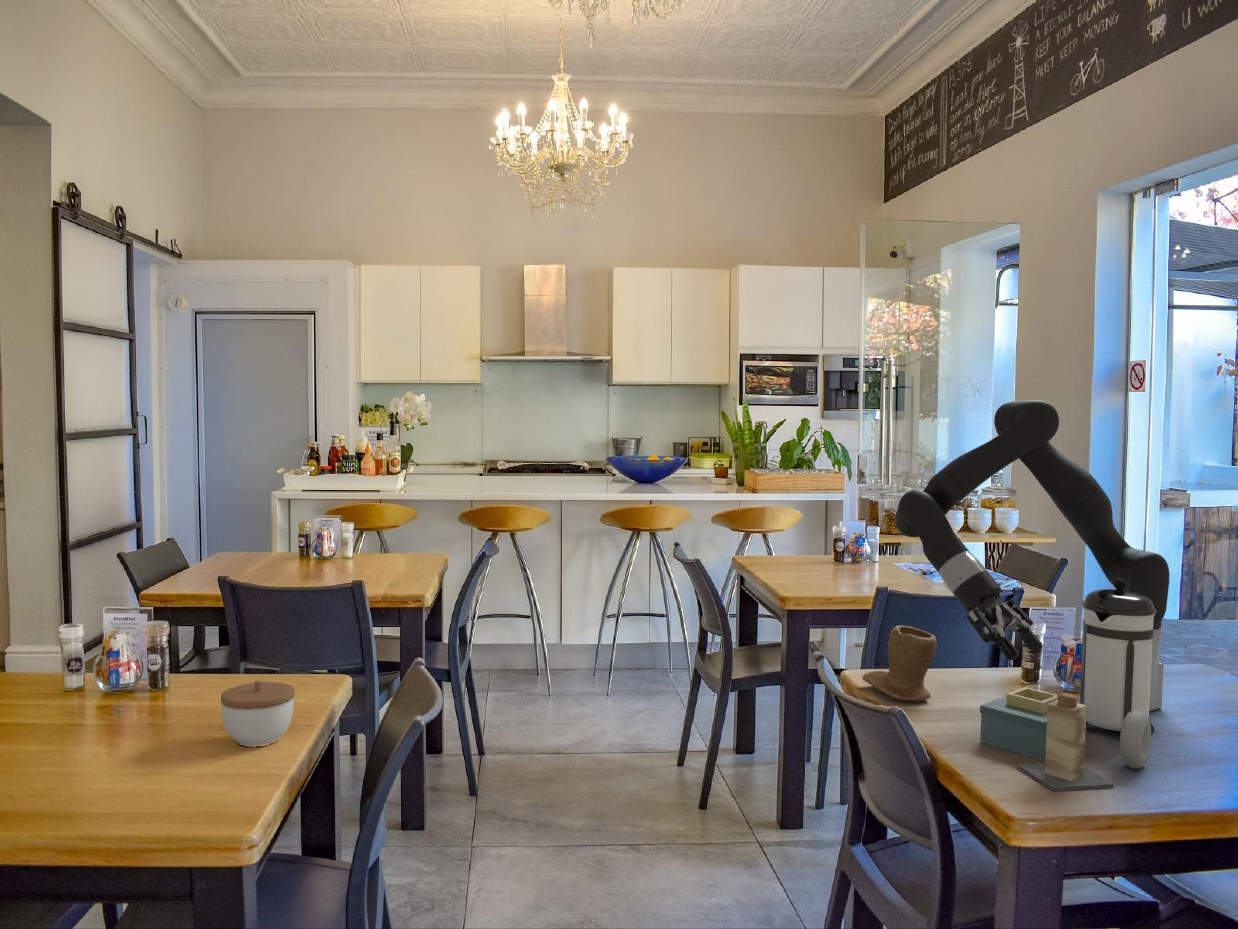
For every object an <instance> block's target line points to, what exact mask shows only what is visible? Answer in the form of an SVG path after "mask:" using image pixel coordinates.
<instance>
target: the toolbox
mask: <svg viewBox="0 0 1238 929" xmlns="http://www.w3.org/2000/svg"><path fill="white" fill-rule="evenodd" d="M1057 699H1058V694H1056V693H1051V692H1048V691H1044V690H1040V689H1039V690H1038V689H1035V688H1031V687H1026V686H1024V687H1021V688H1019V689H1018V688H1017V689H1016V690H1013V691H1010V692H1007V693H1006V695H1005V696H1003V697H1000V698H996V699H994V700H992V701H988V702H984V703H983V704H980V705H979V714H981V716H980V733H979V734H980V737H979V742H980V741H982V742H984V743H983V744H985V743H988V744H987V745H989V744H990V745H989V746H992V747H995V746H996V748H998V749H999V748H1000V749H1002V750H1005V751H1006V750H1007V751H1008V752H1009V751H1010V752H1013V753H1016V754H1020V755H1022V756H1026V757H1029V758H1031V759H1032V758H1033V759H1036V760H1040V761H1045V755H1046V731H1047V707H1048V704H1049V703H1051V702H1054V701H1056V700H1057ZM1077 703H1078V704H1080V702H1077ZM1083 705H1084V704H1083ZM1086 713H1087V706H1086ZM982 742H981V743H982Z"/></svg>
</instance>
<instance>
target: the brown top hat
mask: <svg viewBox="0 0 1238 929" xmlns="http://www.w3.org/2000/svg"><path fill="white" fill-rule="evenodd" d="M888 637H889V638H888V646H887V653H888V654H887V656H888V664H889V665H888V666H889V668H888V669H889V670H888V671H886V670H885V671H884V670H874V671H869V672H867V673H864V674H863V675H862V677H861V679H862V681H865V683H867V684H869V685H870V686H871V687H874V689H877V690H879V691H880V692H882V693H883V694H886V695H887V696H890V697H892V698H894V699H897V700H901V701H907V702H918V701H919V702H920V701H925V700H928V699H930V698H931V697H932V696H931V693H930V692H929V690H928V689H927V688H926V686H925V684H924V683H925V682H924V680H925V677H926V675H927V672H928V670H929V668H930V665H931V664H932V662H933V659H934V657H935V654H936V652H937V648H938V642H937V638H936V636H935V635H934V634H932V633H930V632H928V631H925V630H922V629H919V628H915V627H913V626H907V625H900V624H899V625H896V626H894V627H893V628H892V629H891V630H890V633H889V636H888Z"/></svg>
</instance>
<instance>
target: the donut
mask: <svg viewBox="0 0 1238 929" xmlns="http://www.w3.org/2000/svg"><path fill="white" fill-rule="evenodd" d="M1150 722H1151V721H1150V718H1149V719H1148V717H1147V716H1146V715H1145V714H1144V713H1143V712H1141V711H1136V710H1135V711H1132V712H1129V713H1128V714H1127V715H1126V717H1125V718H1124V721H1123V724H1122V728H1121V734H1120V736H1119V753H1120V757H1121V759H1122V762H1123V763H1124V764H1125V765H1126V766H1127V767H1128V768H1131V769H1133V770H1136V769H1139V768H1142V767H1144V765H1145V764H1146V762H1147V761H1148V757H1149V754H1150V751H1151V750H1150V749H1151V741H1152V733H1151V726H1150Z"/></svg>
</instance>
